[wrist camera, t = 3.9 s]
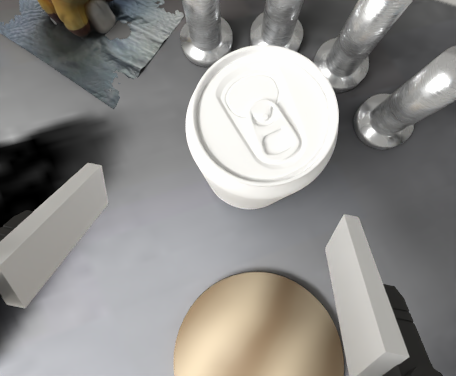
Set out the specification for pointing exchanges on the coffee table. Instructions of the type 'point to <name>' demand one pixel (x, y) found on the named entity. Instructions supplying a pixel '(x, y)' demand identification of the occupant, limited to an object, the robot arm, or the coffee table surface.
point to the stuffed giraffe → (92, 38)
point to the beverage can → (262, 125)
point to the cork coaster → (257, 331)
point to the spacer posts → (334, 60)
